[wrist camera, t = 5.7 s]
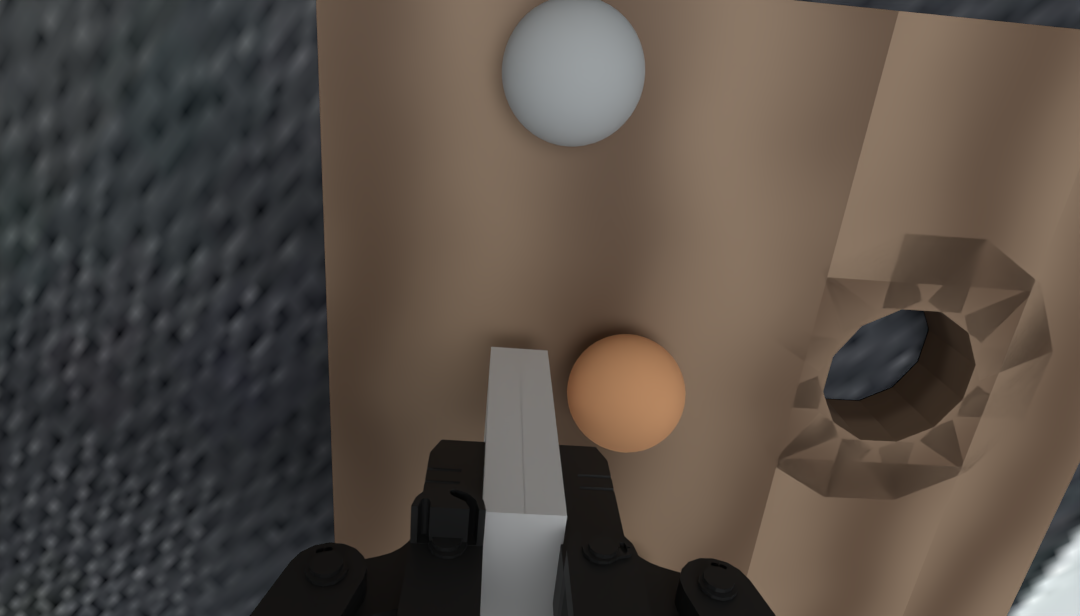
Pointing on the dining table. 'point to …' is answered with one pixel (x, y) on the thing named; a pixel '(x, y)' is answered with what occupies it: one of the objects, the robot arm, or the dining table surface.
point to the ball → (626, 393)
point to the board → (725, 280)
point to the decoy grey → (573, 71)
